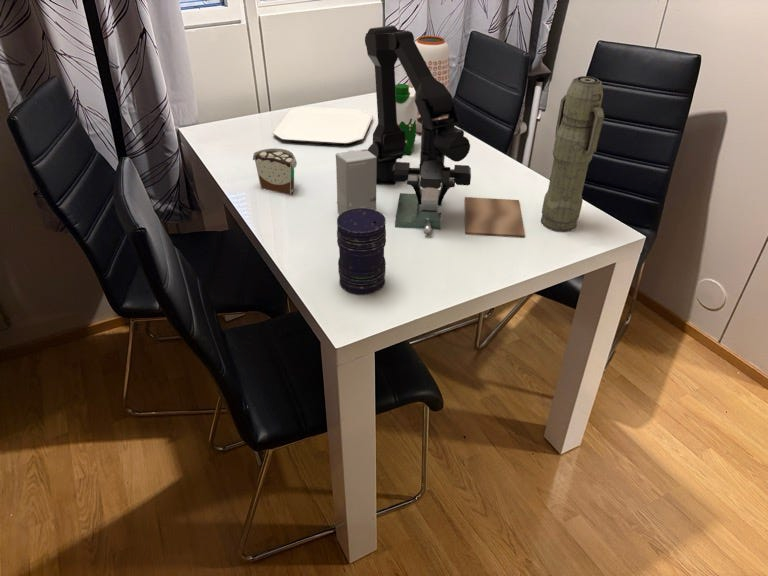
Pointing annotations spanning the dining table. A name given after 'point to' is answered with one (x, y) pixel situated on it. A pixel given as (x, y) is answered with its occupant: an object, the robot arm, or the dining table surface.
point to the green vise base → (415, 214)
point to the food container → (276, 170)
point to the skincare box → (356, 180)
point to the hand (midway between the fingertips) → (429, 204)
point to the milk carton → (406, 114)
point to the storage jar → (361, 250)
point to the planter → (434, 63)
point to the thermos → (573, 152)
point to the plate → (324, 125)
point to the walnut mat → (493, 217)
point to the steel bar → (429, 200)
